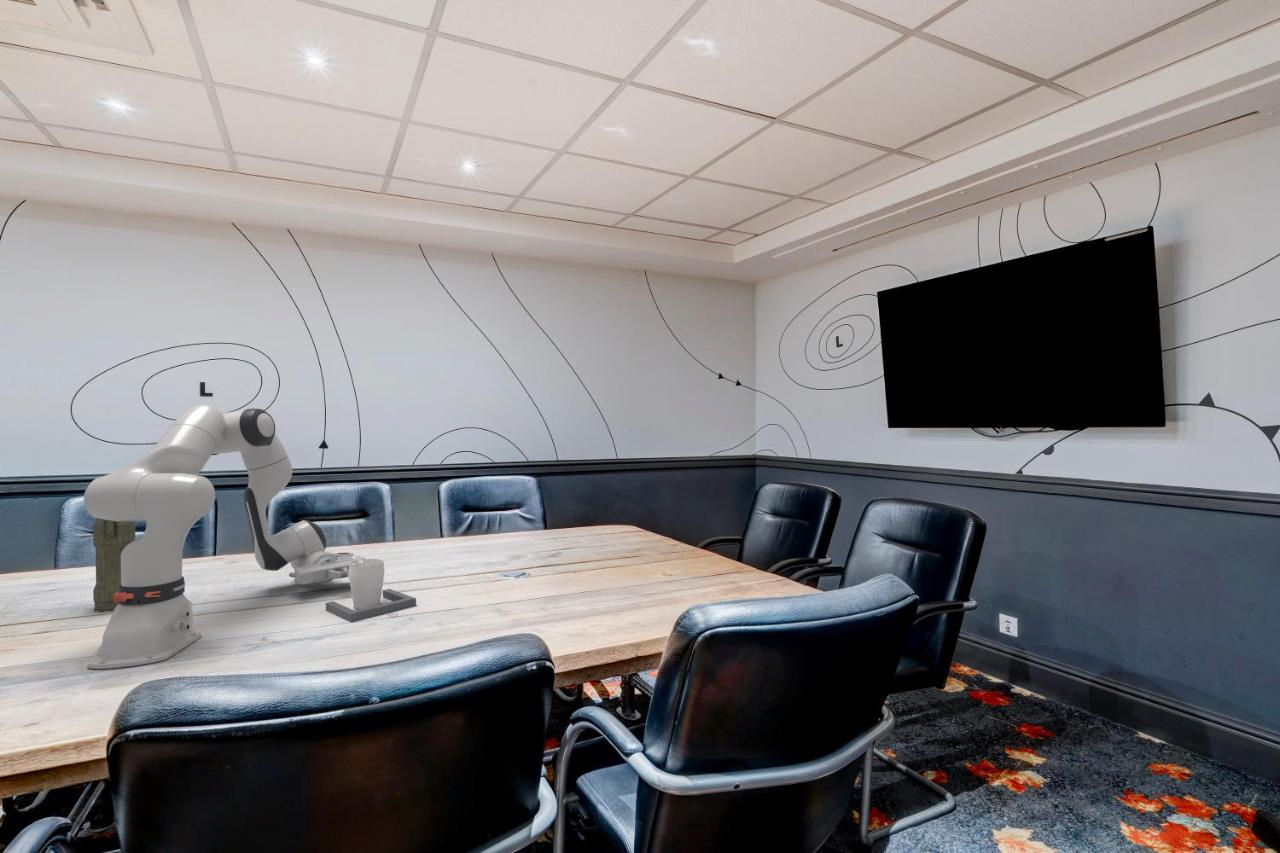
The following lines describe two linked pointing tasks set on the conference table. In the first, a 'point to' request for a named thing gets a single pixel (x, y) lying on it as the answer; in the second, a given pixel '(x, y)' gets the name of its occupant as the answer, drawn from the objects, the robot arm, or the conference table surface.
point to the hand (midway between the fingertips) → (344, 575)
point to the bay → (398, 603)
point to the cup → (366, 582)
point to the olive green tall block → (109, 559)
